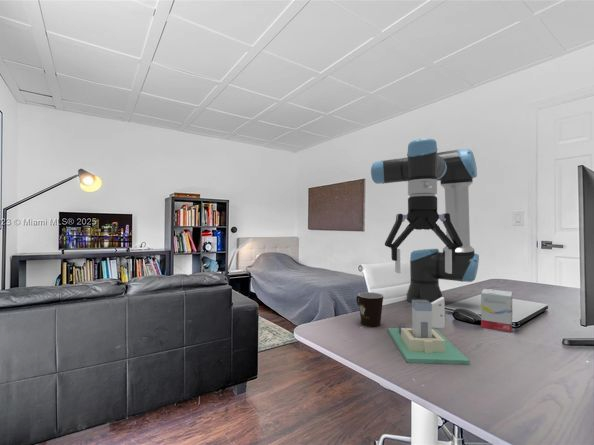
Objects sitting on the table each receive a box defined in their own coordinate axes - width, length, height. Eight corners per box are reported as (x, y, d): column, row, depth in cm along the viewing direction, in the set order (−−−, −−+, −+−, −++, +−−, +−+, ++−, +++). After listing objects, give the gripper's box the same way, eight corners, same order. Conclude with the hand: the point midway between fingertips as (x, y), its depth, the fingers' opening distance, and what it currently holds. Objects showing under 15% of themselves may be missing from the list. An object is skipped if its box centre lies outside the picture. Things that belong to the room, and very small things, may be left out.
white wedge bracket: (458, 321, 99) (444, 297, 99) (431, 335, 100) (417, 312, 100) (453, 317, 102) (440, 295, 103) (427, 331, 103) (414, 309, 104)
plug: (412, 341, 85) (411, 299, 85) (426, 342, 85) (426, 299, 85) (417, 348, 81) (416, 304, 81) (432, 348, 80) (432, 304, 80)
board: (387, 331, 97) (387, 318, 97) (435, 332, 95) (435, 319, 95) (407, 362, 75) (406, 346, 75) (469, 364, 73) (469, 348, 73)
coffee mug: (386, 328, 99) (386, 298, 99) (360, 328, 99) (360, 298, 99) (377, 317, 111) (377, 290, 111) (354, 317, 111) (354, 290, 111)
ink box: (512, 332, 94) (511, 295, 94) (480, 327, 100) (480, 291, 100) (512, 325, 101) (512, 290, 101) (483, 320, 106) (482, 287, 107)
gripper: (379, 195, 80) (379, 274, 80) (476, 194, 78) (477, 275, 78) (374, 197, 88) (374, 270, 87) (463, 196, 85) (463, 270, 85)
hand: (422, 272), depth 83 cm, fingers open, 13 cm apart
